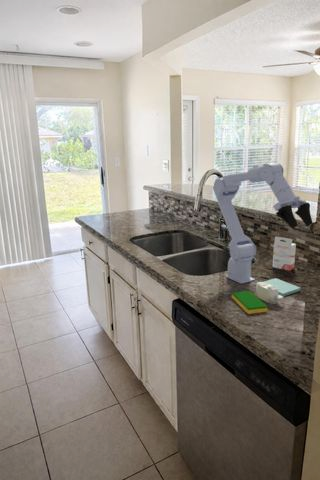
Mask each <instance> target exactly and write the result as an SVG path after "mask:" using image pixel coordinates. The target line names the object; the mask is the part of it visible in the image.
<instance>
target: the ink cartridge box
mask: <svg viewBox="0 0 320 480" xmlns="http://www.w3.org/2000/svg"><path fill="white" fill-rule="evenodd" d="M296 248H297V244H296V243H293V239H292V238H288V237H287V238H286V237H281V236H275V237H274V243H273V253H272V254H273V255H272V268H275V269H279V270H283V269H284V270H283V271H289V272H290V271H292V270H293V269H295V261H296V260H295V259H296Z"/></svg>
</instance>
